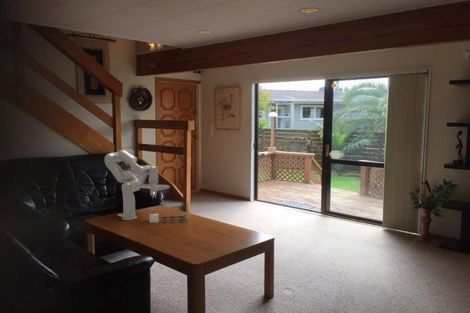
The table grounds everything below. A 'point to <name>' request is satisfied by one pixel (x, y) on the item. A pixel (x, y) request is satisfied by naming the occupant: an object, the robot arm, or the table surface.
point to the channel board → (174, 219)
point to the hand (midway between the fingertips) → (154, 201)
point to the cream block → (154, 218)
